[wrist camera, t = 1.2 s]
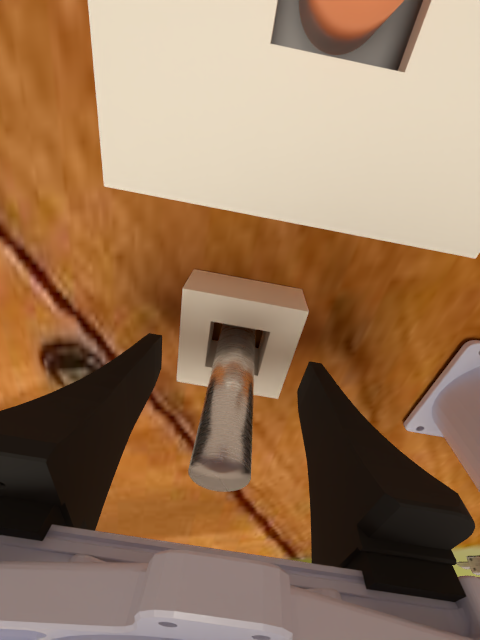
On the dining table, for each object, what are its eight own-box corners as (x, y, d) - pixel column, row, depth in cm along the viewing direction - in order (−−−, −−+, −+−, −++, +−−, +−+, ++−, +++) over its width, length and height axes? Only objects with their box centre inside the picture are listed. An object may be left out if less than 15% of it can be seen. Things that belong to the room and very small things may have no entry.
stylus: (258, 313, 16) (256, 462, 8) (252, 340, 17) (244, 495, 9) (225, 307, 16) (190, 452, 8) (220, 334, 17) (186, 486, 9)
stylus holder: (302, 289, 15) (308, 311, 13) (276, 369, 18) (278, 398, 16) (193, 269, 15) (182, 288, 12) (186, 354, 18) (176, 381, 16)
